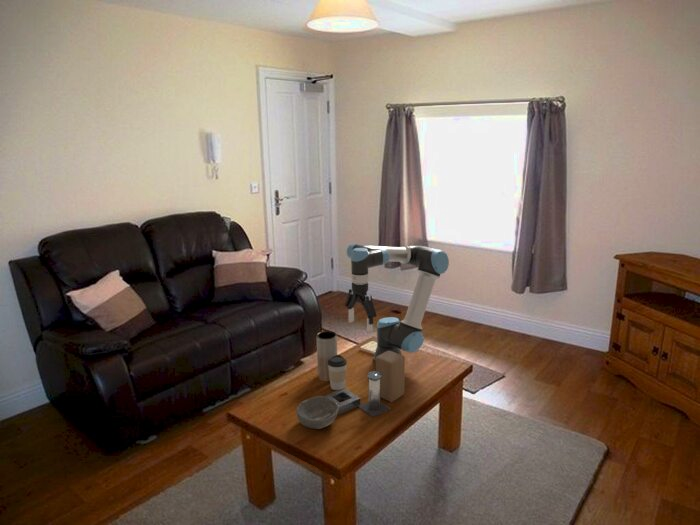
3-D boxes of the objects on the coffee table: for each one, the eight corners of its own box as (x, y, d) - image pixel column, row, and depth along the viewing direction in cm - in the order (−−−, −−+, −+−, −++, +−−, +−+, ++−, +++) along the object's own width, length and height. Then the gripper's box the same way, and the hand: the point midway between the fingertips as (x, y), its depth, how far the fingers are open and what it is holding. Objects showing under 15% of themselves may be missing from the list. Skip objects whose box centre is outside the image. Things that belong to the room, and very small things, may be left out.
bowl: (304, 440, 198) (303, 423, 195) (291, 418, 213) (290, 401, 211) (345, 429, 204) (345, 412, 202) (330, 408, 220) (329, 392, 218)
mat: (375, 400, 226) (375, 399, 226) (390, 409, 219) (390, 408, 218) (358, 407, 220) (358, 406, 220) (373, 417, 213) (373, 416, 212)
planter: (341, 377, 247) (340, 335, 241) (324, 383, 242) (323, 340, 236) (331, 370, 255) (329, 329, 249) (314, 375, 250) (312, 333, 244)
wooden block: (374, 395, 230) (374, 356, 225) (388, 387, 237) (388, 349, 232) (391, 403, 223) (392, 363, 218) (405, 394, 230) (405, 355, 225)
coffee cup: (344, 392, 234) (344, 363, 230) (326, 390, 235) (325, 361, 231) (348, 382, 242) (348, 354, 238) (330, 381, 244) (330, 353, 240)
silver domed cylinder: (375, 402, 223) (375, 369, 219) (383, 408, 219) (384, 374, 214) (364, 406, 220) (364, 373, 216) (373, 412, 215) (373, 379, 211)
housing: (344, 394, 231) (344, 387, 230) (360, 405, 222) (360, 398, 221) (323, 403, 224) (323, 396, 223) (339, 414, 215) (338, 407, 214)
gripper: (336, 277, 231) (337, 320, 236) (371, 290, 212) (371, 336, 217) (349, 274, 235) (350, 316, 241) (384, 287, 216) (384, 332, 222)
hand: (360, 326), depth 229 cm, fingers open, 13 cm apart
